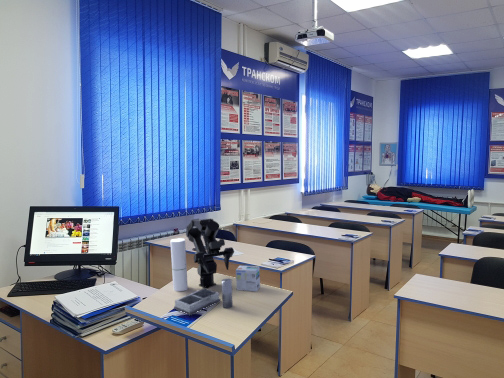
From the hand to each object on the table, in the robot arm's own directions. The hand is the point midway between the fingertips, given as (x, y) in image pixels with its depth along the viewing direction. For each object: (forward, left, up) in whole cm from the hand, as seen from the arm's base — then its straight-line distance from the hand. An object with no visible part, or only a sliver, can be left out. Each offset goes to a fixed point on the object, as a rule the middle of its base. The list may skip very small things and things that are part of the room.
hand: (218, 271), depth 172 cm
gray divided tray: (+11, -3, -13) cm, 17 cm away
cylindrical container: (+3, -25, -14) cm, 29 cm away
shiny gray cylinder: (+4, +9, -13) cm, 16 cm away
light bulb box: (-17, +3, -14) cm, 22 cm away
